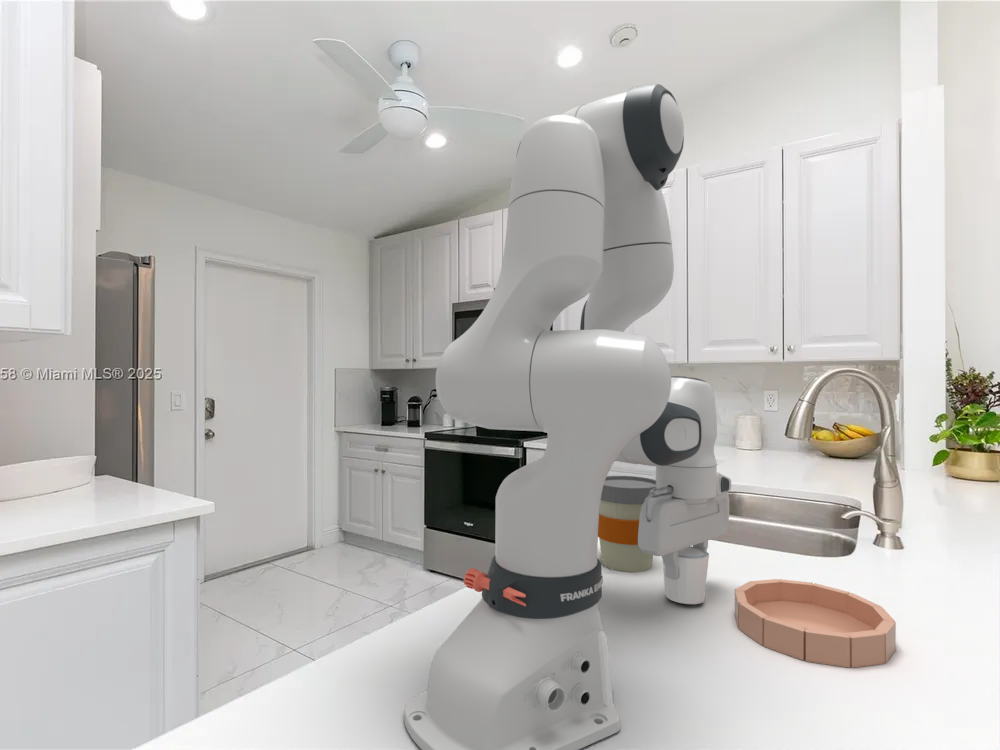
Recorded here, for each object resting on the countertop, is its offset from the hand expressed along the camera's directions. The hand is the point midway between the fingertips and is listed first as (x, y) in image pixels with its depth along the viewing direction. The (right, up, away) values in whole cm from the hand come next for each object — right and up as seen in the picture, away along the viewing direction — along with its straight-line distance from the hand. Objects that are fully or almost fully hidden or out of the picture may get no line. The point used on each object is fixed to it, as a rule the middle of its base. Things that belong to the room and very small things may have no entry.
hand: (685, 573), depth 83 cm
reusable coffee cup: (-5, -4, +17) cm, 18 cm away
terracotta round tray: (+14, -4, -10) cm, 17 cm away
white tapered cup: (0, -4, 0) cm, 4 cm away
